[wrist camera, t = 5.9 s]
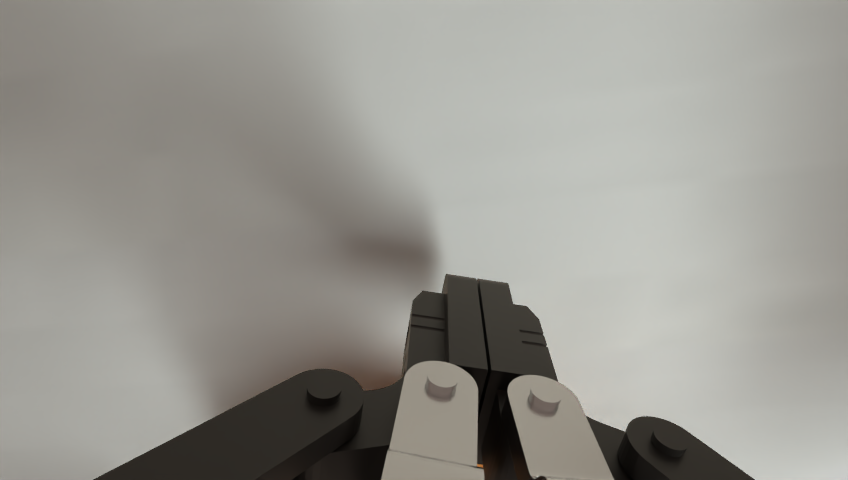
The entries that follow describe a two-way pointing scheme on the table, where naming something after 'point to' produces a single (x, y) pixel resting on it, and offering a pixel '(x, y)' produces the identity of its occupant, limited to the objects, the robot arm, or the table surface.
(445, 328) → the robot arm
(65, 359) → the table surface
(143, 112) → the table surface
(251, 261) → the table surface
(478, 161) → the table surface
